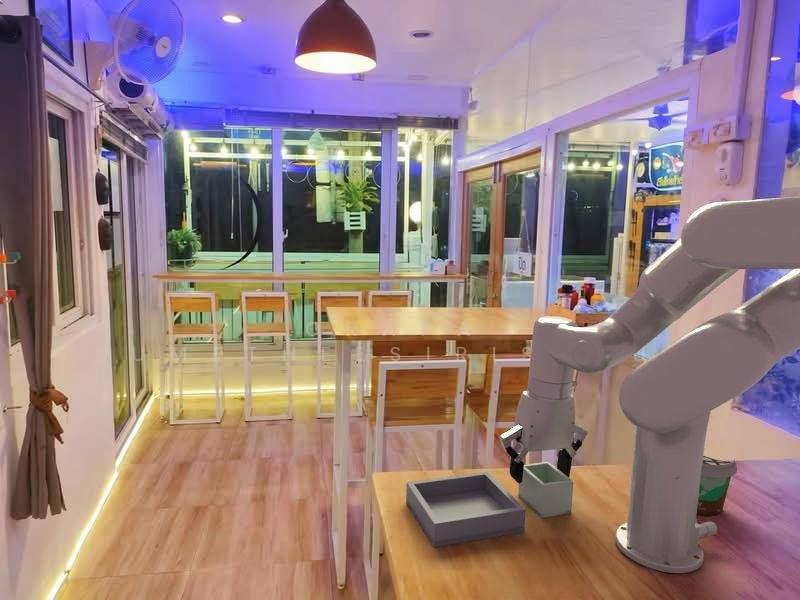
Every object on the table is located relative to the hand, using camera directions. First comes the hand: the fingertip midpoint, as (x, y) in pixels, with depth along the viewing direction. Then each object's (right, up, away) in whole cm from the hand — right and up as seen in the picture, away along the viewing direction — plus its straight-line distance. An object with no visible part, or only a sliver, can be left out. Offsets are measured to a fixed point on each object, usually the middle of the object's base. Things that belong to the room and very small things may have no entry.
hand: (539, 476), depth 101 cm
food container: (+27, -6, -1) cm, 28 cm away
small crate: (+1, -5, 0) cm, 5 cm away
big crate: (-15, -5, -5) cm, 16 cm away
